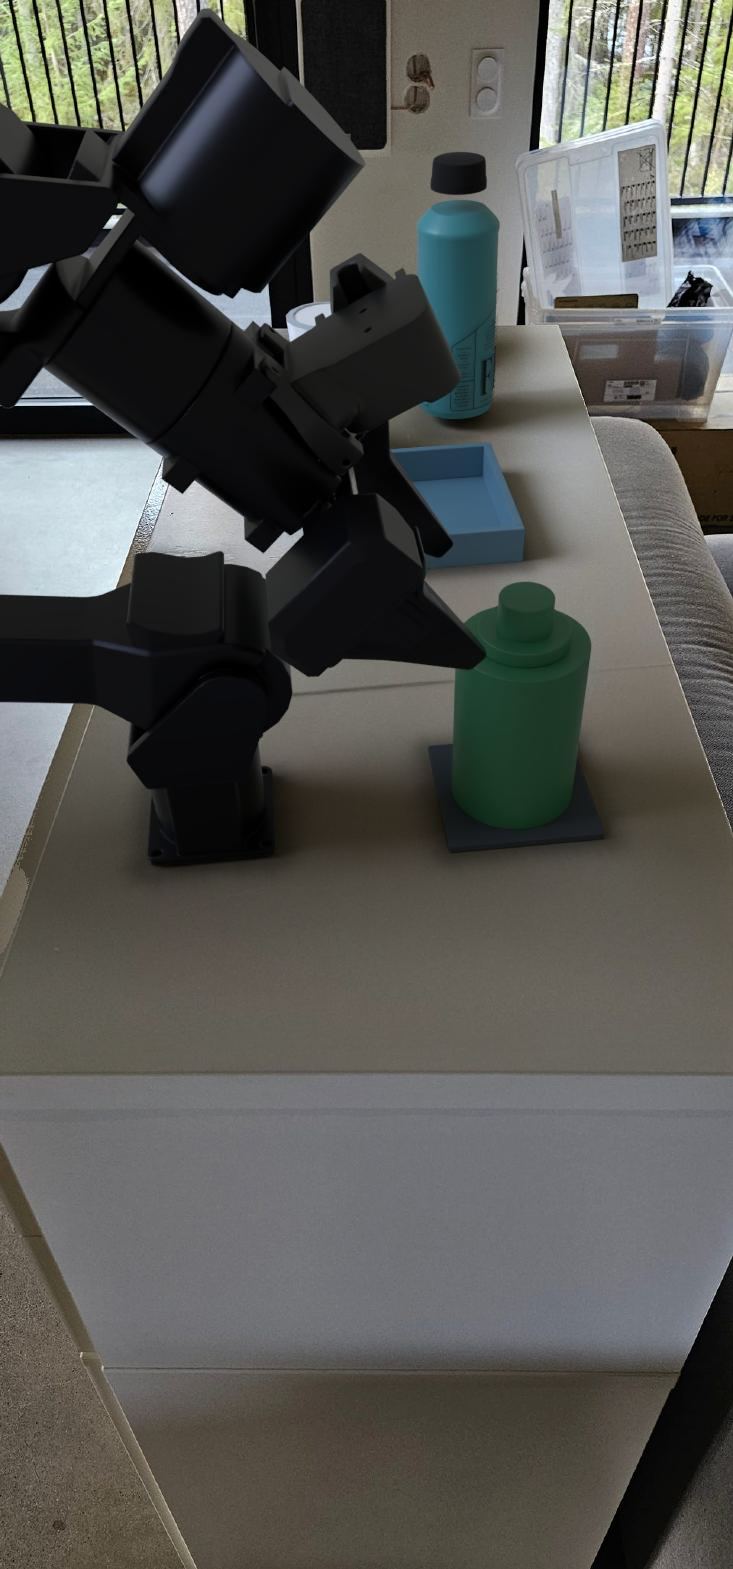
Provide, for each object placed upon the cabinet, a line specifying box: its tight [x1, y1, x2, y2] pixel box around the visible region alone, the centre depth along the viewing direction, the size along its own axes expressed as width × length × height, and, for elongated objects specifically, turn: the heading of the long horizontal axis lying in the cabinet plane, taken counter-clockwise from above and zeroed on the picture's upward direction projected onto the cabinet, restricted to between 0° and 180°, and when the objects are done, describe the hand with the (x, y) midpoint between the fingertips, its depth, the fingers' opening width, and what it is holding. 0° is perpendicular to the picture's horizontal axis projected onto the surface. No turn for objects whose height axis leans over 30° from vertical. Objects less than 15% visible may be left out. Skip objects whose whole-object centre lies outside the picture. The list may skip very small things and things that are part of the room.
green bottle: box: [452, 581, 592, 829], centre depth 55 cm, size 6×6×12 cm
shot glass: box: [285, 300, 331, 342], centre depth 95 cm, size 7×7×7 cm
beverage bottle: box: [416, 151, 501, 420], centre depth 86 cm, size 6×7×20 cm
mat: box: [427, 743, 606, 853], centre depth 59 cm, size 8×8×1 cm
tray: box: [390, 441, 526, 570], centre depth 79 cm, size 13×12×3 cm
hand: (461, 601), depth 50 cm, fingers open, 9 cm apart
